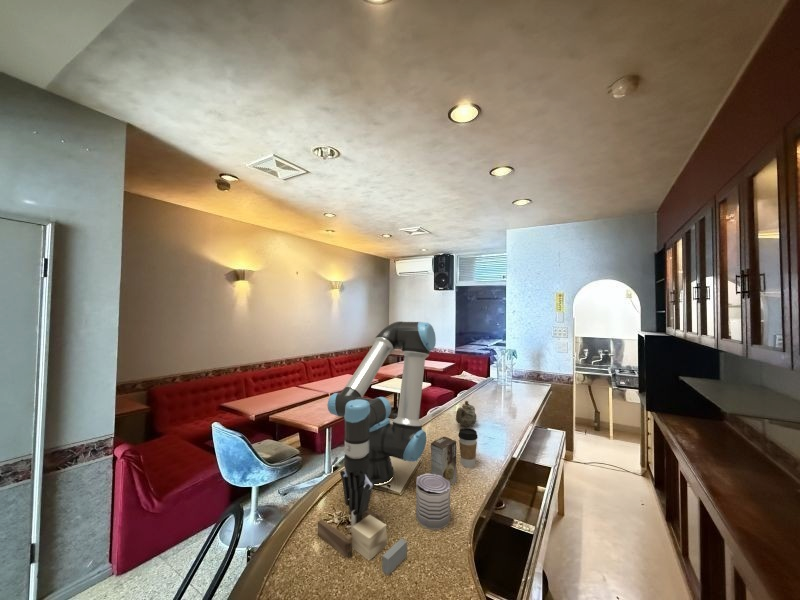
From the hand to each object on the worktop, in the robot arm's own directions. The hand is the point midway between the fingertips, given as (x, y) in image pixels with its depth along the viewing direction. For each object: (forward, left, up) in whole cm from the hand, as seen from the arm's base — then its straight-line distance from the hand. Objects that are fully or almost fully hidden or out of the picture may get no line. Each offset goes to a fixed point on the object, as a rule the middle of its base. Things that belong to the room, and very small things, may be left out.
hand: (356, 532), depth 93 cm
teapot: (-101, -15, -2) cm, 102 cm away
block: (0, +6, -2) cm, 6 cm away
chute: (0, -3, -2) cm, 3 cm away
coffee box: (-42, +5, -2) cm, 43 cm away
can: (-22, +13, -2) cm, 26 cm away
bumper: (0, +15, -2) cm, 15 cm away
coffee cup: (-61, +6, -2) cm, 62 cm away
